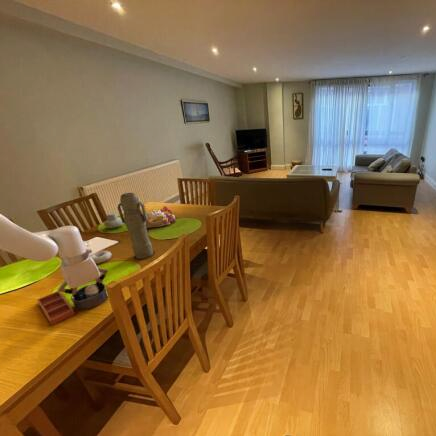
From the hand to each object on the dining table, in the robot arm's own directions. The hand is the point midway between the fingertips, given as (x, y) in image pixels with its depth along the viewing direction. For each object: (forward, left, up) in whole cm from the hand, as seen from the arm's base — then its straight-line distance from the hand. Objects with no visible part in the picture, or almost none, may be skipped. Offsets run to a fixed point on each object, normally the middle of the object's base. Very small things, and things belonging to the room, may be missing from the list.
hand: (90, 294), depth 98 cm
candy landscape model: (+58, +60, -3) cm, 84 cm away
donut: (+14, +34, -3) cm, 37 cm away
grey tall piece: (+30, +20, -3) cm, 36 cm away
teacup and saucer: (+16, +56, -3) cm, 58 cm away
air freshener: (+36, +76, -3) cm, 84 cm away
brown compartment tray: (-10, +6, -3) cm, 12 cm away
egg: (0, 0, -2) cm, 2 cm away
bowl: (0, 0, -3) cm, 3 cm away
